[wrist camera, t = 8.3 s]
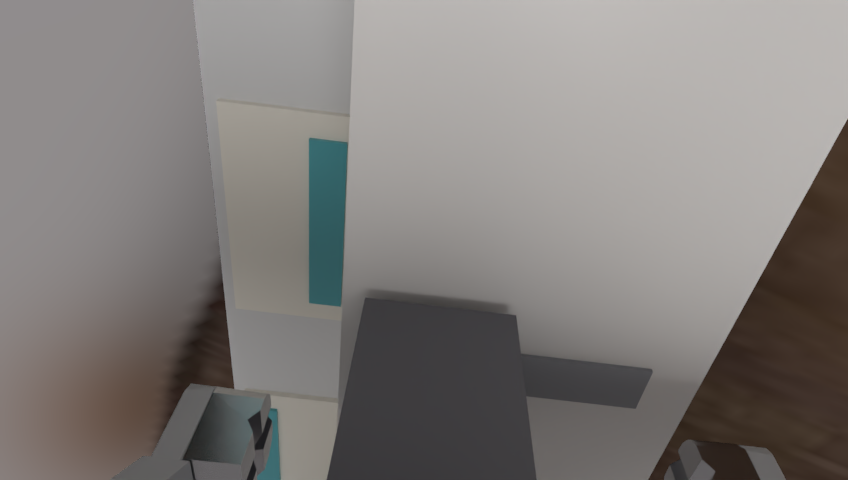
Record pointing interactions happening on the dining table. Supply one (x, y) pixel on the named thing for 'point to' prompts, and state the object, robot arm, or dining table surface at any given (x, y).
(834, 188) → the dining table surface
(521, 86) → the switch unit
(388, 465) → the slider middle
